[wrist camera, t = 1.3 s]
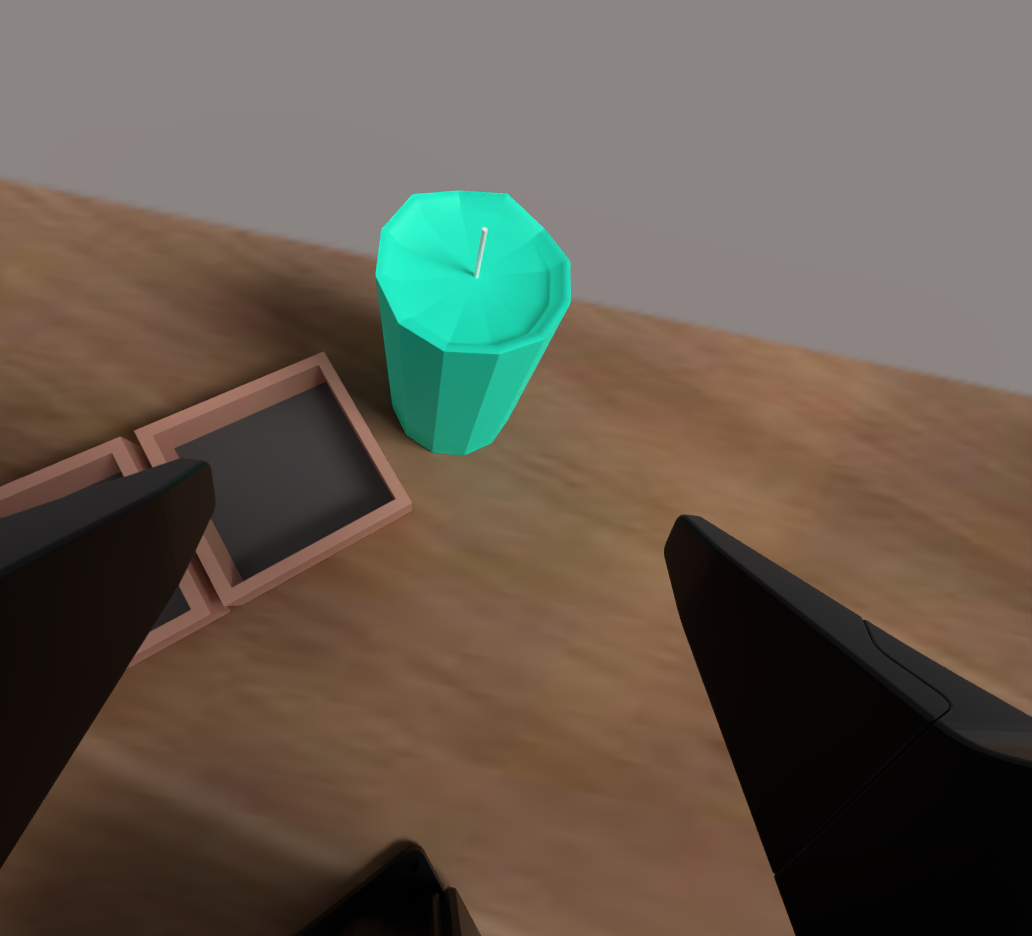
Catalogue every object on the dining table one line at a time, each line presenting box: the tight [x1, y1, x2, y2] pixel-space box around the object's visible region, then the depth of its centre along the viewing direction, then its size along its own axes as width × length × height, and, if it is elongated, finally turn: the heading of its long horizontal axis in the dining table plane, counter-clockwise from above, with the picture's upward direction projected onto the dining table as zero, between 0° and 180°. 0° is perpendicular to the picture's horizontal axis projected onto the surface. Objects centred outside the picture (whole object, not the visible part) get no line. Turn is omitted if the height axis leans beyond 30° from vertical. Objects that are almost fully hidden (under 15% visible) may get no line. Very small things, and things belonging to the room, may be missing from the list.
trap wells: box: [0, 352, 412, 670], centre depth 19 cm, size 16×8×2 cm, turn 122°
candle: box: [375, 191, 571, 455], centre depth 18 cm, size 6×6×12 cm
